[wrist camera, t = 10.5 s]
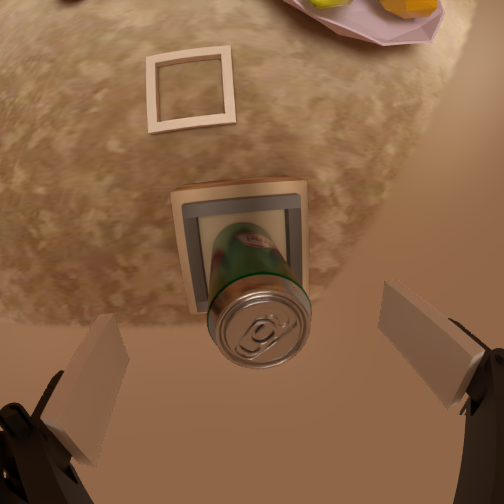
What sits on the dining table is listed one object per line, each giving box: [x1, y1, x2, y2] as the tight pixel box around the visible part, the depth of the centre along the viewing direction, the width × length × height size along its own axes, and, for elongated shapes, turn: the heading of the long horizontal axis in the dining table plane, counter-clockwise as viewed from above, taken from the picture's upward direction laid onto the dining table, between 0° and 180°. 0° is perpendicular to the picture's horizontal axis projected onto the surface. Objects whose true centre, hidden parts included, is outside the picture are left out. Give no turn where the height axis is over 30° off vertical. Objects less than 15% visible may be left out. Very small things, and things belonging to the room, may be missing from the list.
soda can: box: [207, 223, 312, 369], centre depth 18 cm, size 5×5×12 cm
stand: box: [170, 176, 309, 315], centre depth 27 cm, size 11×11×10 cm
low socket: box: [146, 46, 236, 134], centre depth 25 cm, size 9×9×2 cm
